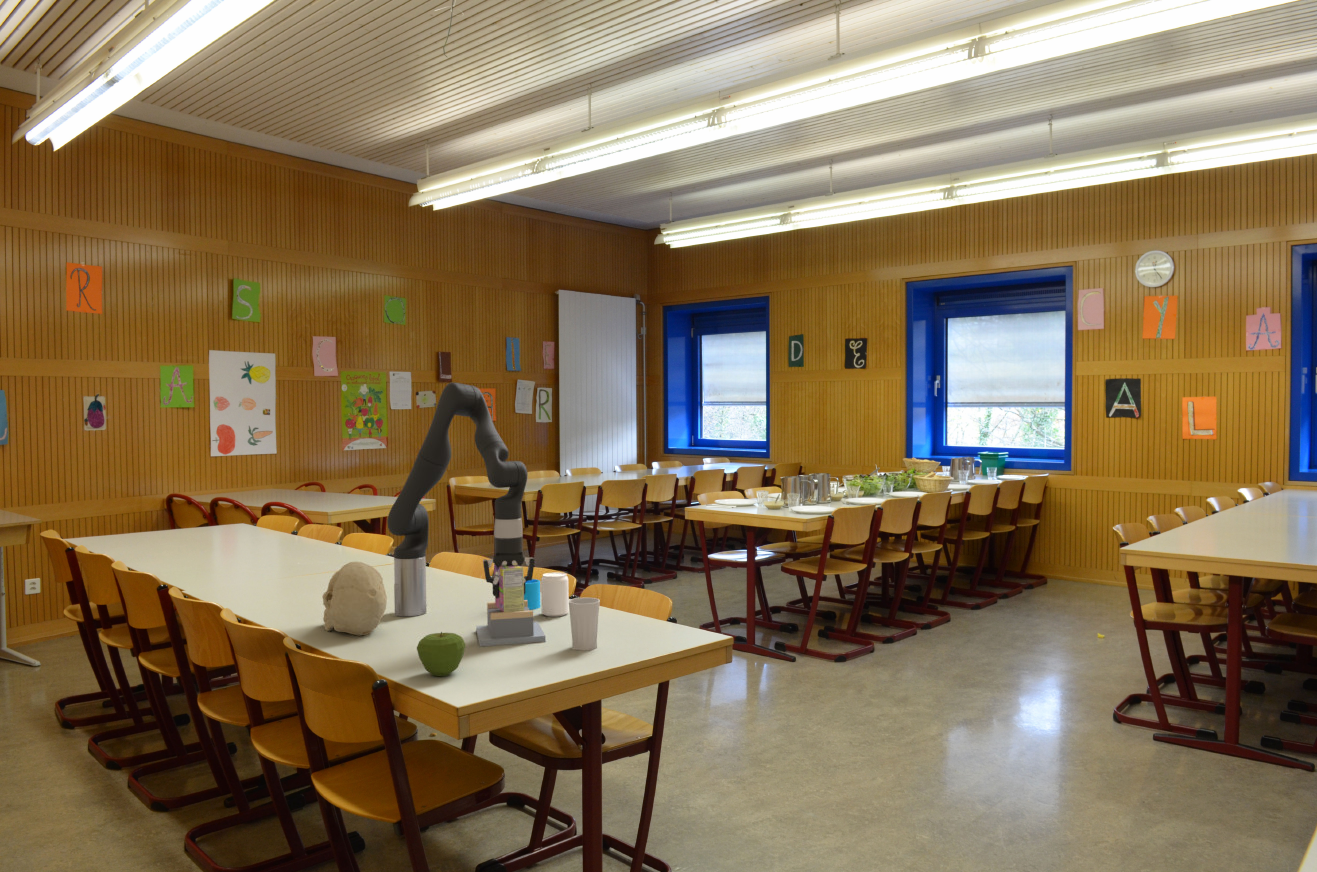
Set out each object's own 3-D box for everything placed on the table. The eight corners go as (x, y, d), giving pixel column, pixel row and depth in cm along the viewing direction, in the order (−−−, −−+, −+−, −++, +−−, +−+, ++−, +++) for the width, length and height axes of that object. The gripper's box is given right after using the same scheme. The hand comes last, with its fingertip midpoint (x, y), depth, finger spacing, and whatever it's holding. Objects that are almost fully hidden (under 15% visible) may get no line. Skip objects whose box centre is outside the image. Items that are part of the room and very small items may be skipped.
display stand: (479, 646, 229) (479, 615, 228) (476, 631, 245) (475, 602, 245) (545, 641, 233) (545, 611, 233) (537, 626, 249) (537, 598, 249)
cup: (588, 652, 221) (587, 605, 221) (562, 648, 226) (562, 601, 225) (606, 645, 228) (605, 599, 228) (581, 641, 232) (581, 596, 232)
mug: (545, 607, 275) (545, 581, 275) (524, 611, 269) (524, 584, 269) (522, 601, 284) (521, 576, 283) (501, 605, 278) (500, 580, 278)
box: (494, 605, 242) (493, 562, 242) (514, 603, 245) (514, 561, 244) (503, 613, 233) (502, 568, 233) (524, 611, 235) (523, 567, 235)
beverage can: (574, 613, 265) (573, 574, 265) (553, 618, 259) (553, 577, 259) (556, 609, 271) (556, 571, 271) (536, 614, 265) (535, 574, 265)
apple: (469, 667, 210) (468, 625, 209) (460, 680, 199) (460, 636, 199) (423, 668, 209) (422, 626, 209) (412, 681, 199) (411, 637, 199)
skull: (355, 617, 262) (356, 550, 260) (398, 636, 243) (398, 564, 242) (306, 625, 251) (306, 556, 250) (346, 646, 233) (347, 571, 232)
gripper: (482, 538, 233) (482, 601, 233) (536, 535, 236) (537, 598, 237) (480, 534, 240) (481, 595, 241) (533, 532, 244) (534, 592, 244)
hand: (509, 596), depth 239 cm, fingers closed on box, 6 cm apart
